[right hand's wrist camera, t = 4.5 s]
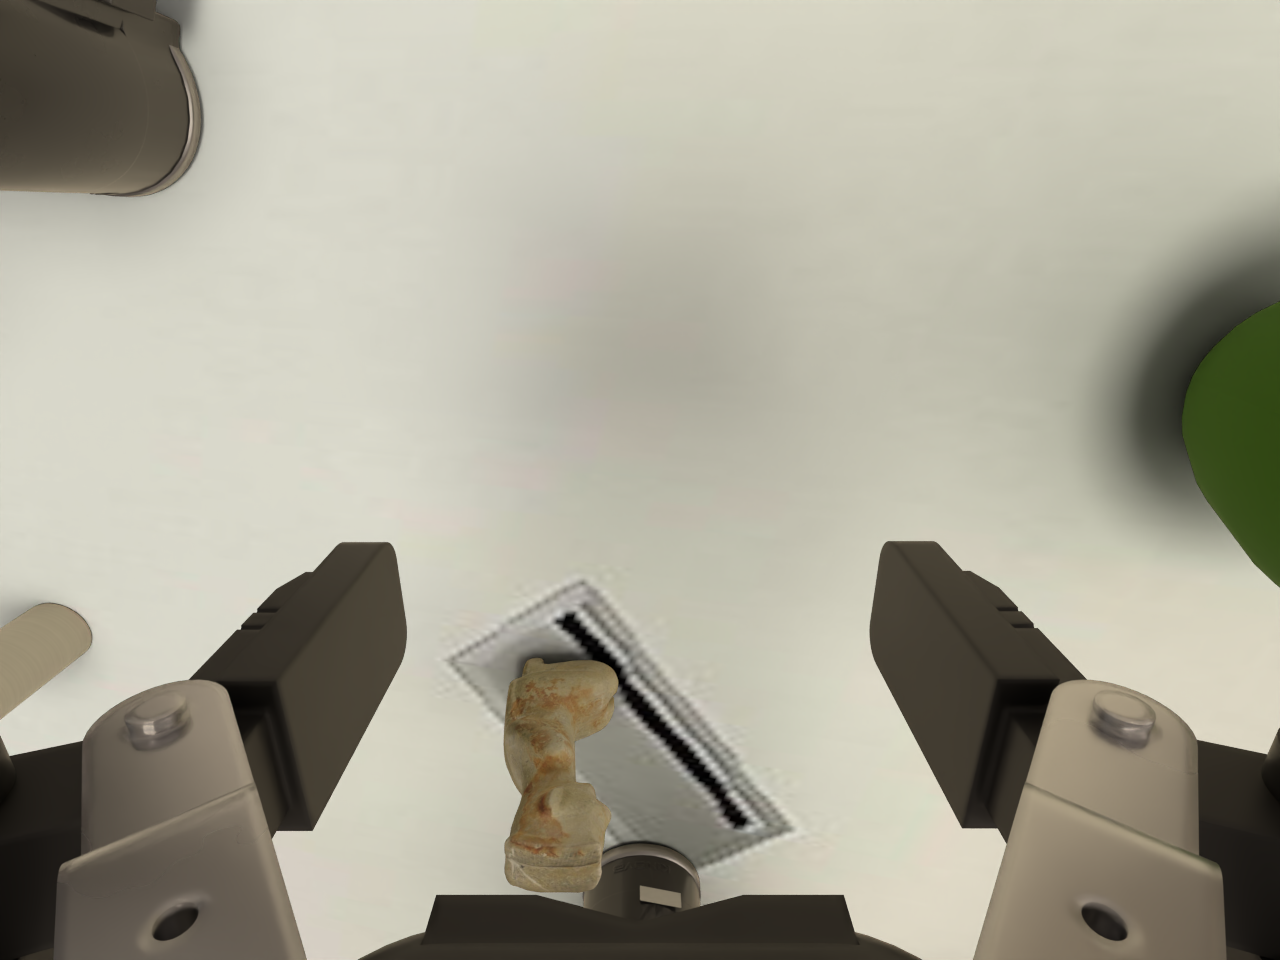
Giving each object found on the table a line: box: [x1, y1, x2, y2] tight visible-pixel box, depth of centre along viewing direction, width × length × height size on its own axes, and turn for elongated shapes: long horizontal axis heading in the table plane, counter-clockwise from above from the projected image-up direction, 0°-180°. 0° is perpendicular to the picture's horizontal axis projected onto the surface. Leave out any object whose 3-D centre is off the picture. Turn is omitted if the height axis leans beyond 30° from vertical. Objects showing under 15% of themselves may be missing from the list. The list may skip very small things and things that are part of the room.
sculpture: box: [504, 658, 618, 893], centre depth 40 cm, size 6×7×15 cm
